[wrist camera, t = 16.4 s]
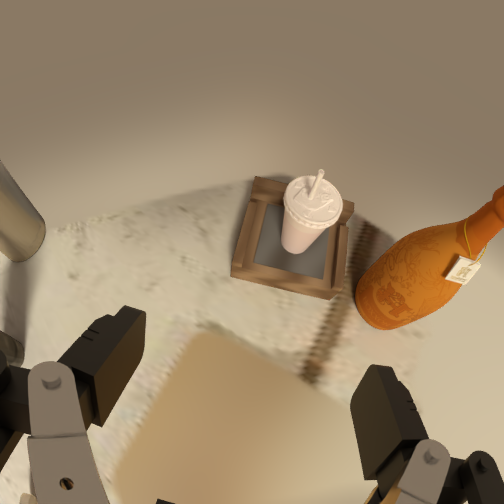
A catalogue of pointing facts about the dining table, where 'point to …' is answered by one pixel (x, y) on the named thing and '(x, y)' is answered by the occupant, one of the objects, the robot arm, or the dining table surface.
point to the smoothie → (308, 211)
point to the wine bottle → (426, 268)
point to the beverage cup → (11, 349)
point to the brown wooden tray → (280, 260)
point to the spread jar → (28, 499)
